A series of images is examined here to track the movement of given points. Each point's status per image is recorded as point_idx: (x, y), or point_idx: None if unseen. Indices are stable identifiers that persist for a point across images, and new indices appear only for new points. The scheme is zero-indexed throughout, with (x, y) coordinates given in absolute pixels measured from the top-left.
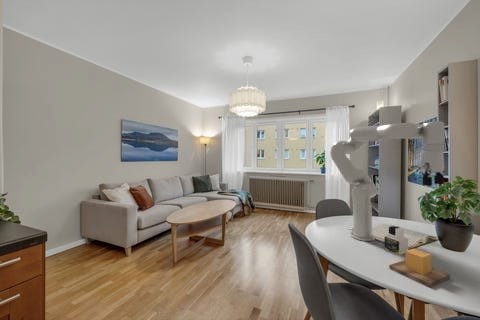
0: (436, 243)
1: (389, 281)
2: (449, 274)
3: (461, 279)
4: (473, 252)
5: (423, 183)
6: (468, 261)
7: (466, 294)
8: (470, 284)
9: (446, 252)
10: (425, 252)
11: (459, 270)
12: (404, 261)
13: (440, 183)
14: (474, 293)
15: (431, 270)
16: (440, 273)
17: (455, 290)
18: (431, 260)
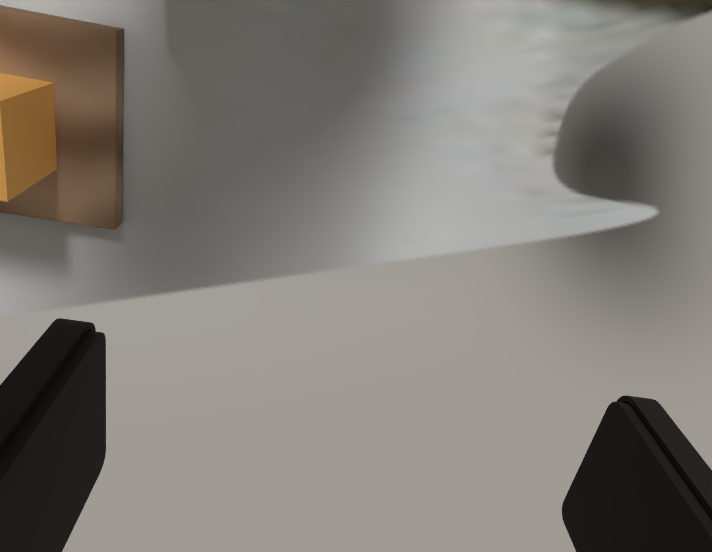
0: (639, 42)
1: None
2: (112, 228)
3: (160, 253)
4: (612, 222)
5: (45, 350)
6: (433, 231)
7: (31, 289)
8: (144, 282)
9: (491, 130)
10: (2, 170)
11: (262, 228)
12: (37, 28)
13: (573, 496)
14: (72, 304)
15: (53, 171)
16: (81, 200)
17: (21, 259)
18: (25, 189)
